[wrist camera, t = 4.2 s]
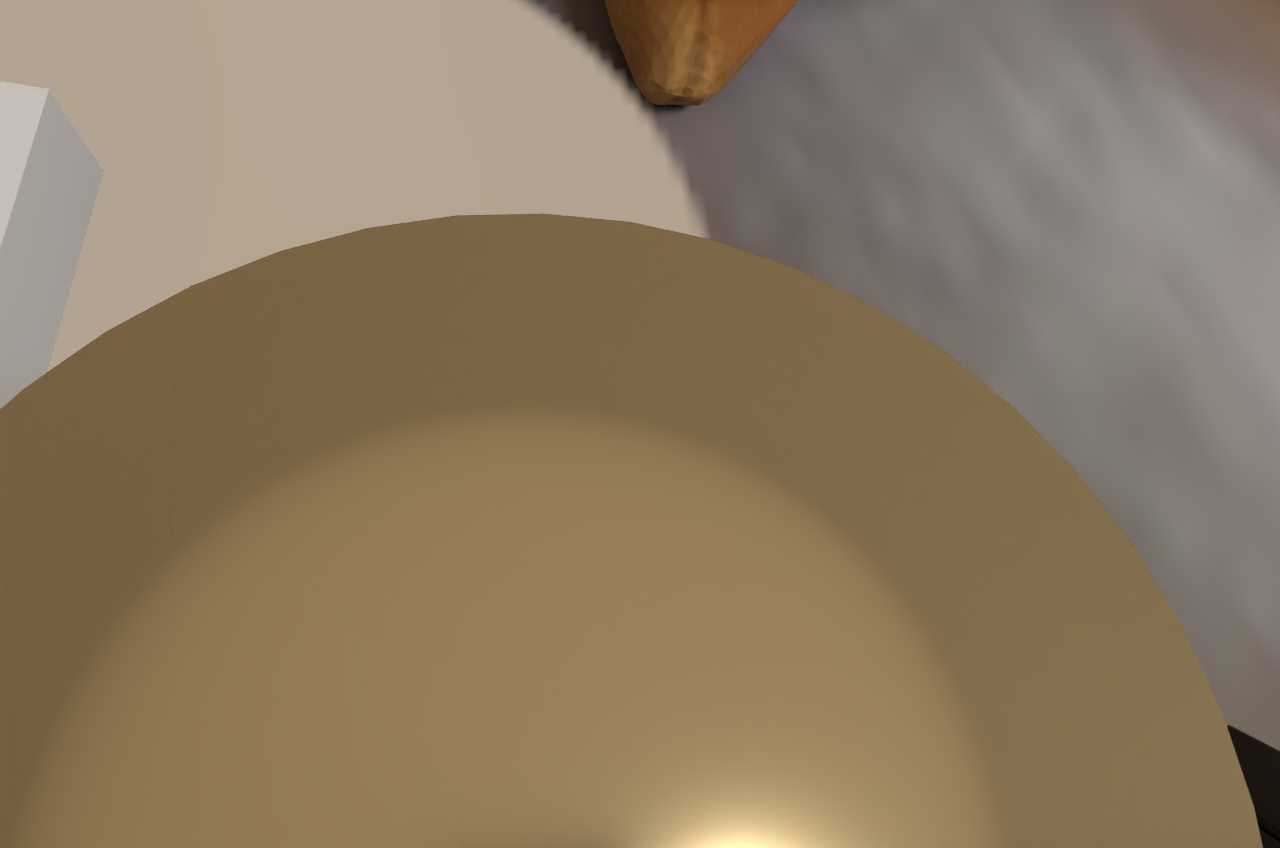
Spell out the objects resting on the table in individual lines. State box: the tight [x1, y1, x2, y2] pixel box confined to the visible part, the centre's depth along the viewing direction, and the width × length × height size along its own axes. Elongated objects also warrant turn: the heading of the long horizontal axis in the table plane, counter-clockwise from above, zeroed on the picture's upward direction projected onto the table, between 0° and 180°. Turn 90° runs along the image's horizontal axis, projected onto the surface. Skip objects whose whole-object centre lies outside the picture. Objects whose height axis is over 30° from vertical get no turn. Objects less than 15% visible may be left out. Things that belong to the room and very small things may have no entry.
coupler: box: [0, 214, 1263, 848], centre depth 9 cm, size 4×4×13 cm
